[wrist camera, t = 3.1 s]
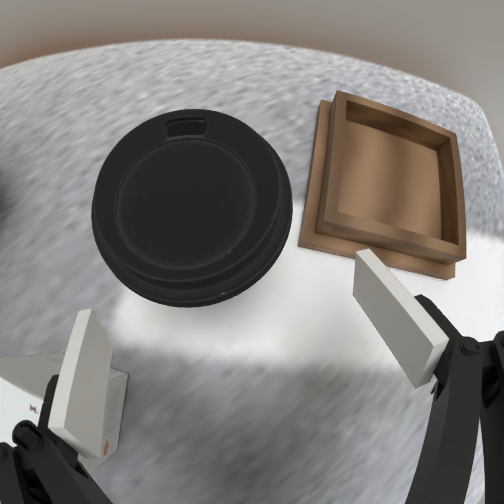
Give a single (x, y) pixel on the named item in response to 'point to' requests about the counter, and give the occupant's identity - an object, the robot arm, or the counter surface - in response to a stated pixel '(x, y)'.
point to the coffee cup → (191, 208)
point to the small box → (33, 391)
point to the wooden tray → (385, 188)
